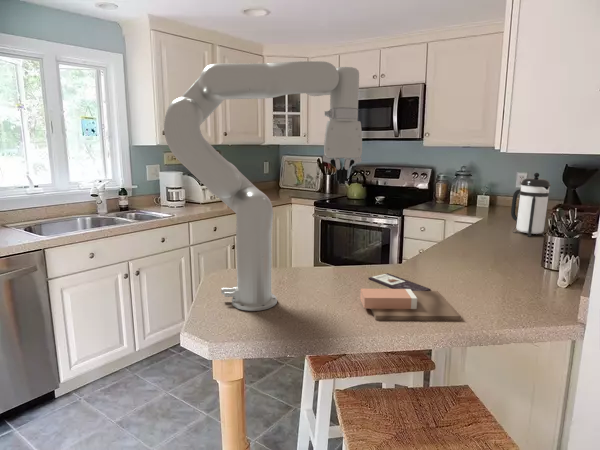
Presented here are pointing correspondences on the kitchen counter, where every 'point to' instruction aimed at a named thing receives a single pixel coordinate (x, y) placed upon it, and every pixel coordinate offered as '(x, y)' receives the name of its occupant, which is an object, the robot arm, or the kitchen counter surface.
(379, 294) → the slab
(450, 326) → the kitchen counter surface
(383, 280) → the chocolate bar
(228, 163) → the robot arm
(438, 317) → the board
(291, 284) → the kitchen counter surface
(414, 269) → the kitchen counter surface
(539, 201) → the coffee press
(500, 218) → the kitchen counter surface
